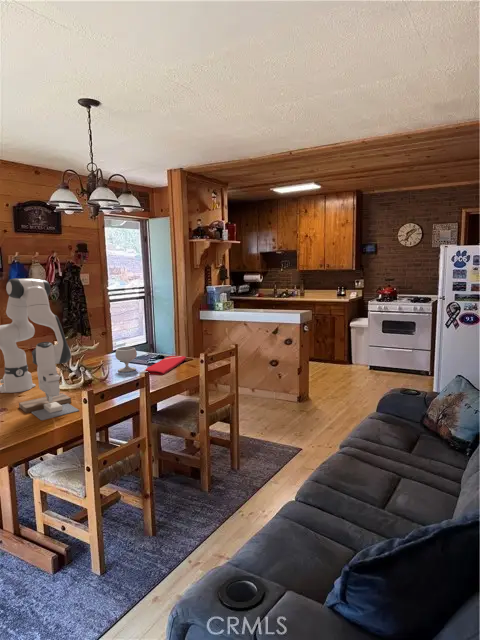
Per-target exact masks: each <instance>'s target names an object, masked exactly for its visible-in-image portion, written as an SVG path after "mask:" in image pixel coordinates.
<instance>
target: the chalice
mask: <svg viewBox="0 0 480 640" xmlns="http://www.w3.org/2000/svg"><path fill="white" fill-rule="evenodd" d="M137 353H138V352H137V350H136V348H135V347H134V346H121V347H118V348H116V351H115V358H116V360H118V361H120V362H122V363H124V365H125V366H124V367H121V368H118V369H117V371H118V372H120V373H130V372H135V370H136V371H137V368H136V367H133V366H129V364H130V362H132V361H133V360H134V359H136V358H137V355H138V354H137Z"/></svg>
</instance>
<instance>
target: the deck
mask: <svg viewBox="0 0 480 640" xmlns="http://www.w3.org/2000/svg"><path fill="white" fill-rule="evenodd" d="M52 400H53V401H52V402H49V401H47V397H46V396H43V397H38V398H33V399H30V400H25V401H21V402H18V408H20V409H21V410H22V411H23V412H24V413H25V414H29V413H31V412H33V411H37V410H41V409H44V404H48V403H53V402H57V403H59V404H60V405H62V404H66V403H69V404H71V403H72V398H71V397H70V396H68V395H66V394H65V393H63V392H62V393H59V395H58V396H54V397H53V398H52Z"/></svg>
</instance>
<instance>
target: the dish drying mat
mask: <svg viewBox="0 0 480 640" xmlns="http://www.w3.org/2000/svg"><path fill="white" fill-rule="evenodd" d="M186 359H187V356H184V355H183V356H182V355H170V356H166V357H164V358H163V359H161V360H158V361H157V362H155V363H153V364H152V365H150V366H148V367H145V369H144V371H148V372H149V373H150V374H149V375H157V376H159V375H160V376H163V375H165V374H166V373H169V372H170V371H171V370H172V369H174V368H175V367H177V366H178V365H180V364H182V363H183V362H184V361H185V360H186Z"/></svg>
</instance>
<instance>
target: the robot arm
mask: <svg viewBox="0 0 480 640" xmlns="http://www.w3.org/2000/svg"><path fill="white" fill-rule="evenodd" d="M5 288H6V289H5V291H6V294H7V295H8V299H7V304H6V311H5V313H6V316H7V317H8V318H9V319H11V321H12V322H11V323H7V324H1V325H0V350H1V352H2V354H3V359H4V374H3V377H2V378H1V379H0V393H1V394H3V393H5V394H6V393H8V394H11V393H22V392H26V391H28V390H31V389H32V388H34V387H36V383H34V382H33V377H32V372H30V371H28V370H29V366H28V364H27V354H26V352H25V350H24V349H22V348H19V347H18V345H17V343H18V342H22V341H27V340H29V339H32V338H33V337H34V335H35V333H36V330H35V327H34V325H33V323H35V324H37V325H41V326H45V327H48V328H50V329H51V330H53V332H54V335H55V338H56V340H57V343H58V344H56V345H54V344H53V343H52V342H50V341H41V342H38V343H37V344H36V346H35V348H34V349H33V350H32V351H31V355H32V363H33V364H34V365H36V366H37V369H36V372H37V379H38V380H37V381H38V387H39V390H41V391H42V392H43V393H44V394H45V397H47V401H49V402H52V401H53V400H52V398H53V397H54V396H58V395H59V394H60V390H61V389H60V379H61V377H60V375H59V373H58V371H57V365H56V364H67V363H68V362H69V361H70V360H71V358H72V352H71V351H72V350H71V348H70V346H69V344H68V342H67V339H66V336H65V333H64V330H63V327H62V323H61V322H60V318H59V316H58V315H56V314H54V313H53V312H52V310H51V307H50V302H49V301H50V300H49V296H50V294H51V292H52V291H51V285H50V283H49V281H47V280H45V279H37V278H17V277H16V278H10V279H9V280H8V281H7V282H6V287H5ZM29 320H30V321H31V322H30V321H29ZM32 322H33V323H32Z"/></svg>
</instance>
